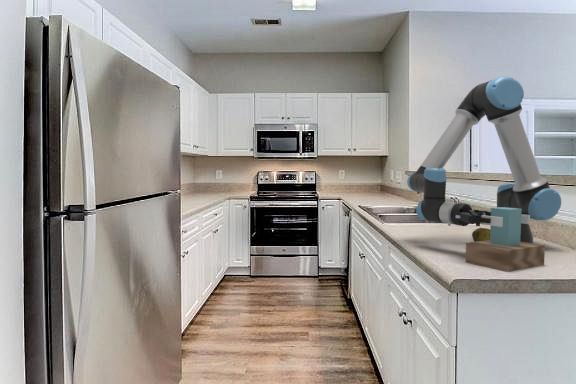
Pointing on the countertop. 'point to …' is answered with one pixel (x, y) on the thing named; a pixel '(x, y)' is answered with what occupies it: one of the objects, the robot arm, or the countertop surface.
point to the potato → (481, 234)
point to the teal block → (506, 227)
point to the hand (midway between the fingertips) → (516, 220)
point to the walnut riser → (505, 255)
